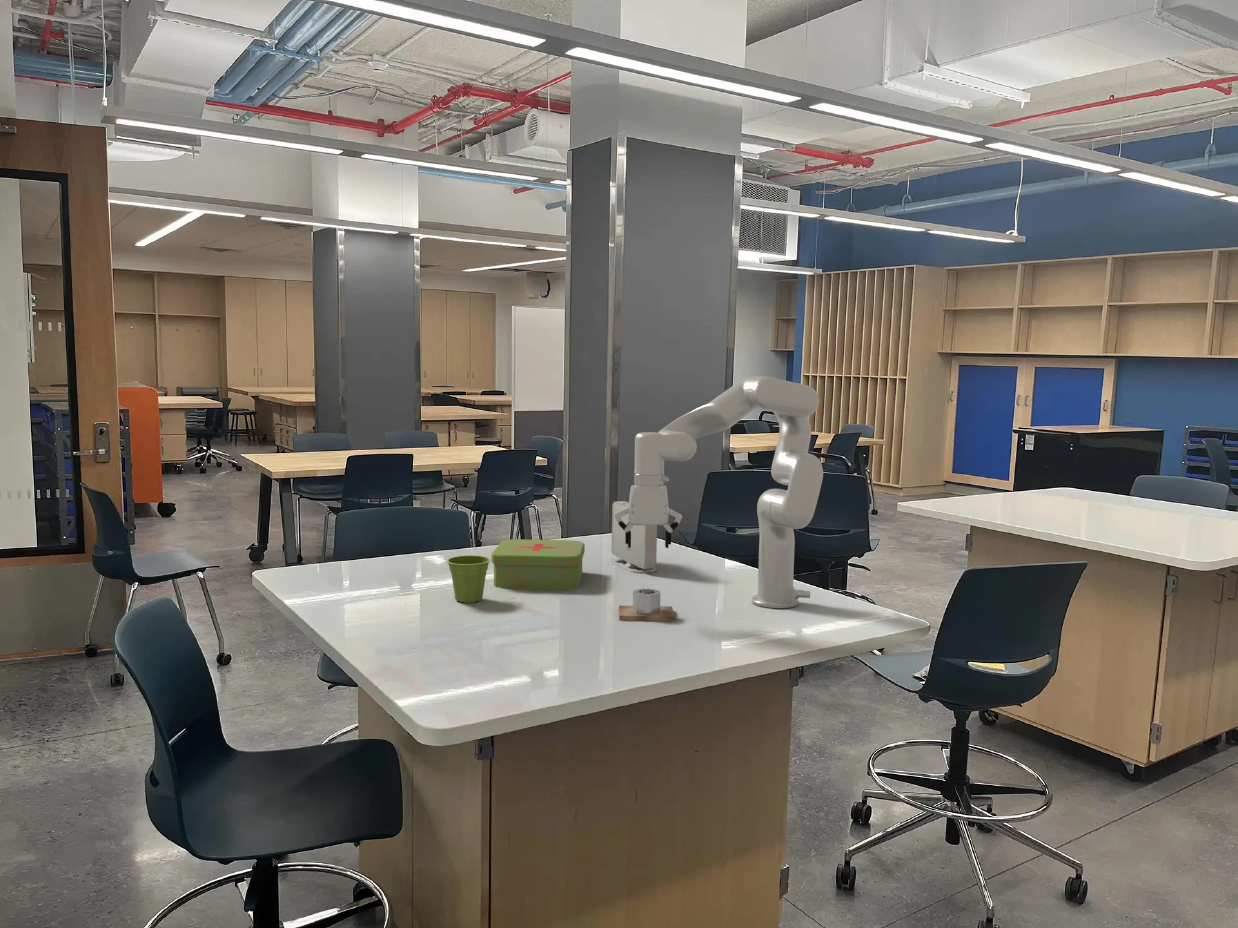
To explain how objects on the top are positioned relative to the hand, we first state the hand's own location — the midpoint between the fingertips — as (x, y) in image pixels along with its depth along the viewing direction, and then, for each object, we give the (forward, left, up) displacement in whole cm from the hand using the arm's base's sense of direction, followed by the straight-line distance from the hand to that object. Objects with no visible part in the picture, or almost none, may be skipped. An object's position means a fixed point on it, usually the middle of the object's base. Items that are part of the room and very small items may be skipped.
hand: (648, 546), depth 230 cm
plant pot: (+48, -13, -18) cm, 53 cm away
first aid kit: (+31, -40, -18) cm, 54 cm away
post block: (0, 0, -18) cm, 18 cm away
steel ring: (0, 0, -17) cm, 17 cm away
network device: (+2, -60, -18) cm, 63 cm away
